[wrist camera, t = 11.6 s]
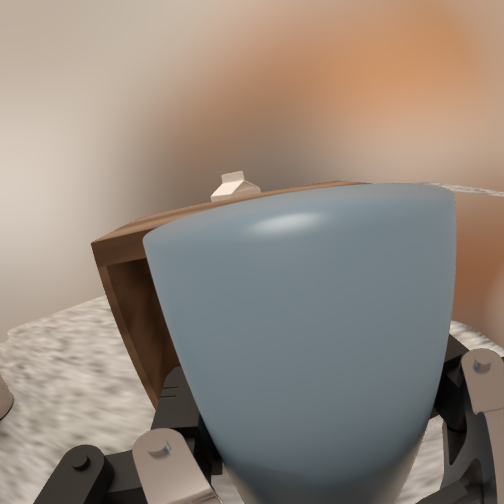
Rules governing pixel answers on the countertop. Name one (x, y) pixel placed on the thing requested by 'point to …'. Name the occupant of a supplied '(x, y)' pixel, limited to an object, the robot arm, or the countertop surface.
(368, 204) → the grey-blue cylinder
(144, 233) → the open wooden box
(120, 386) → the countertop surface
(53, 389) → the countertop surface
